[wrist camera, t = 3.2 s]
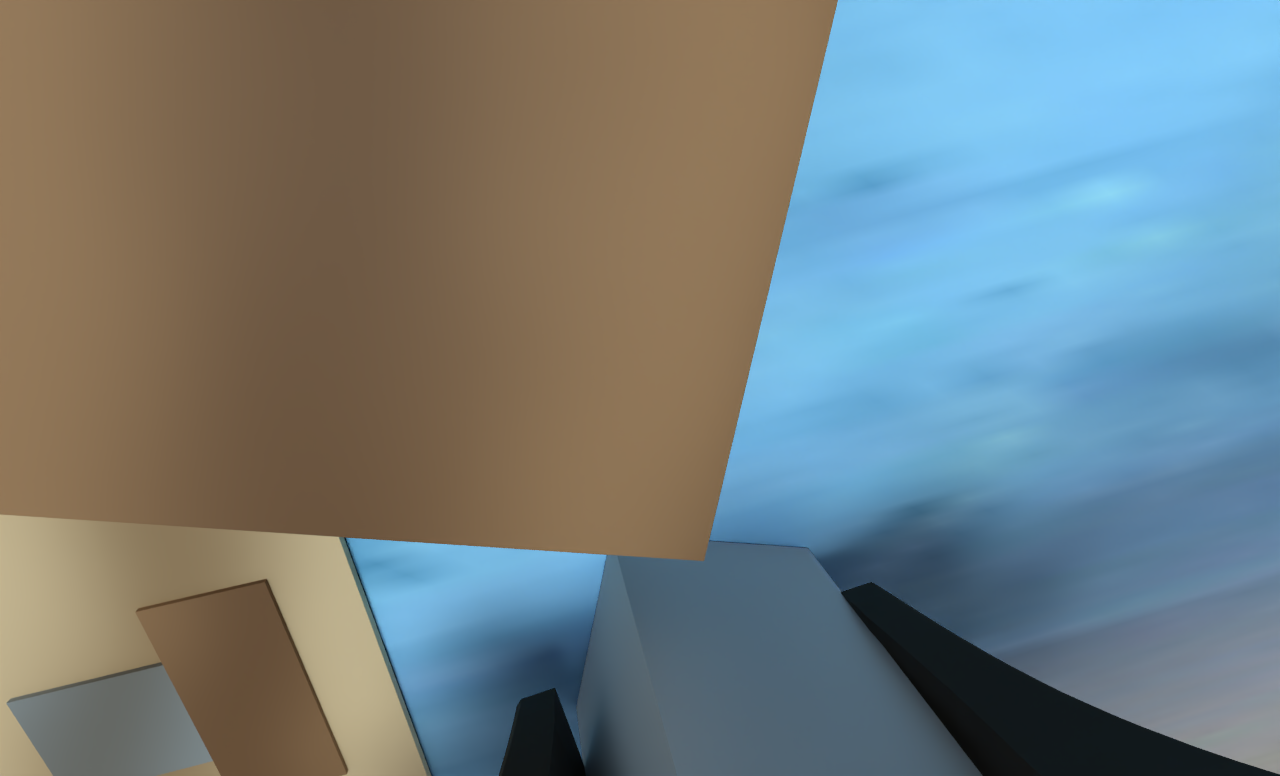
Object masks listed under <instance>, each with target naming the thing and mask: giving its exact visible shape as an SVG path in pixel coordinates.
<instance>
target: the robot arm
mask: <svg viewBox="0 0 1280 776" xmlns="http://www.w3.org/2000/svg"><path fill="white" fill-rule="evenodd" d="M841 594H842V595H843V596H844V598H845V599H846V600H847V602H848V603H849V604H850V606H851V607H852V608H853V610H854V611H855V612H856V613H857V615H858V616H859V617H860V619H861V620H862V621H863V623H864V624H865V625H866V627H867V628H868V629H869V630H870V632H871V633H872V634H873V635H874V636H875V637H876V638H877V639H878V641H879V642H880V643H881V644H882V645H883V646H884V648H885V649H886V650H887V652H888V653H889V654H890V656H891V657H892V658H893V659H894V661H895V662H896V663H897V665H898V666H899V667H900V669H901V670H902V671H903V673H904V674H905V675H906V676H907V678H908V679H909V680H910V682H911V683H912V684H913V686H914V687H915V688H916V690H917V691H918V692H919V693H920V695H921V696H922V697H923V699H924V700H925V701H926V703H927V704H928V705H929V706H930V708H931V709H932V710H933V712H934V713H935V714H936V716H937V717H938V718H939V720H940V721H941V722H942V723H943V725H944V726H945V727H946V729H947V730H948V731H949V733H950V734H951V735H952V736H953V738H954V739H955V740H956V742H957V743H958V744H959V746H960V747H961V748H962V750H963V751H964V752H965V753H966V755H967V756H968V757H969V759H970V760H971V761H972V763H973V764H974V765H975V766H976V768H977V769H978V770H979V772H980V773H981V774H982V776H1280V775H1279V774H1276V773H1273V772H1270V771H1266V770H1263V769H1260V768H1257V767H1254V766H1251V765H1247V764H1244V763H1241V762H1238V761H1235V760H1232V759H1229V758H1226V757H1223V756H1220V755H1217V754H1214V753H1211V752H1208V751H1205V750H1203V749H1200V748H1197V747H1194V746H1191V745H1189V744H1186V743H1183V742H1181V741H1178V740H1176V739H1173V738H1170V737H1168V736H1165V735H1162V734H1160V733H1157V732H1154V731H1152V730H1149V729H1146V728H1144V727H1141V726H1139V725H1136V724H1134V723H1131V722H1129V721H1126V720H1124V719H1121V718H1119V717H1117V716H1114V715H1112V714H1109V713H1107V712H1105V711H1103V710H1101V709H1098V708H1096V707H1094V706H1092V705H1089V704H1087V703H1085V702H1083V701H1080V700H1078V699H1076V698H1074V697H1071V696H1069V695H1067V694H1065V693H1063V692H1061V691H1058V690H1056V689H1054V688H1052V687H1050V686H1048V685H1046V684H1044V683H1042V682H1040V681H1038V680H1036V679H1035V678H1033V677H1031V676H1029V675H1027V674H1025V673H1023V672H1021V671H1019V670H1017V669H1015V668H1014V667H1012V666H1010V665H1008V664H1006V663H1004V662H1003V661H1001V660H999V659H997V658H995V657H993V656H992V655H990V654H988V653H986V652H985V651H983V650H981V649H979V648H978V647H976V646H974V645H973V644H971V643H969V642H967V641H966V640H964V639H962V638H961V637H959V636H957V635H955V634H954V633H952V632H950V631H949V630H947V629H946V628H944V627H942V626H941V625H939V624H937V623H936V622H934V621H933V620H931V619H929V618H928V617H926V616H925V615H923V614H921V613H920V612H918V611H917V610H915V609H913V608H912V607H910V606H909V605H907V604H906V603H904V602H903V601H901V600H899V599H898V598H896V597H895V596H893V595H892V594H890V593H889V592H887V591H885V590H884V589H882V588H881V587H879V586H878V585H876V584H874V583H872V582H870V583H867V584H864V585H861V586H858V587H855V588H852V589H849V590H846V591H843V592H841ZM499 776H586V775H585V767H584V764H583V761H582V759H581V756H580V753H579V751H578V748H577V745H576V743H575V740H574V737H573V735H572V732H571V729H570V727H569V724H568V721H567V719H566V716H565V713H564V711H563V708H562V705H561V703H560V700H559V697H558V695H557V692H556V690H555V688H553V689H550V690H547V691H544V692H541V693H538V694H535V695H532V696H529V697H526V698H523V699H521V700H520V702H519V704H518V705H517V708H516V713H515V717H514V722H513V726H512V730H511V734H510V738H509V741H508V745H507V749H506V752H505V756H504V759H503V763H502V766H501V770H500V773H499Z"/></svg>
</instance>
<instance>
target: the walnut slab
mask: <svg viewBox="0 0 1280 776" xmlns="http://www.w3.org/2000/svg"><path fill="white" fill-rule="evenodd" d="M837 2H838V0H0V515H14V516H30V517H45V518H60V519H75V520H90V521H105V522H120V523H135V524H151V525H166V526H181V527H196V528H211V529H226V530H241V531H256V532H272V533H287V534H302V535H317V536H332V537H347V538H362V539H377V540H393V541H408V542H423V543H438V544H453V545H468V546H483V547H499V548H514V549H529V550H544V551H559V552H574V553H589V554H604V555H620V556H635V557H650V558H665V559H680V560H695V561H704V559H705V555H706V551H707V547H708V542H709V538H710V534H711V530H712V526H713V521H714V517H715V513H716V509H717V505H718V500H719V496H720V492H721V488H722V484H723V479H724V475H725V471H726V467H727V463H728V459H729V454H730V450H731V446H732V442H733V438H734V433H735V429H736V425H737V421H738V417H739V412H740V408H741V404H742V400H743V396H744V391H745V387H746V383H747V379H748V375H749V371H750V366H751V362H752V358H753V354H754V350H755V345H756V341H757V337H758V333H759V329H760V324H761V320H762V316H763V312H764V308H765V303H766V299H767V295H768V291H769V287H770V282H771V278H772V274H773V270H774V266H775V262H776V257H777V253H778V249H779V245H780V241H781V236H782V232H783V228H784V224H785V220H786V215H787V211H788V207H789V203H790V199H791V194H792V190H793V186H794V182H795V178H796V174H797V169H798V165H799V161H800V157H801V153H802V148H803V144H804V140H805V136H806V132H807V127H808V123H809V119H810V115H811V111H812V106H813V102H814V98H815V94H816V90H817V86H818V81H819V77H820V73H821V69H822V65H823V60H824V56H825V52H826V48H827V44H828V39H829V35H830V31H831V27H832V23H833V18H834V14H835V10H836V6H837Z"/></svg>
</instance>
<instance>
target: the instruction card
mask: <svg viewBox="0 0 1280 776" xmlns="http://www.w3.org/2000/svg"><path fill="white" fill-rule="evenodd" d="M0 776H431V773H430V771H429V768H428V765H427V762H426V760H425V757H424V754H423V752H422V749H421V746H420V743H419V741H418V738H417V735H416V733H415V730H414V727H413V724H412V722H411V719H410V716H409V713H408V711H407V708H406V705H405V703H404V700H403V697H402V694H401V692H400V689H399V686H398V683H397V681H396V678H395V675H394V673H393V670H392V667H391V664H390V662H389V659H388V656H387V653H386V651H385V648H384V645H383V643H382V640H381V637H380V634H379V632H378V629H377V626H376V623H375V621H374V618H373V615H372V613H371V610H370V607H369V604H368V602H367V599H366V596H365V593H364V591H363V588H362V585H361V583H360V580H359V577H358V574H357V572H356V569H355V566H354V563H353V561H352V558H351V555H350V553H349V550H348V547H347V544H346V542H345V539H344V537H332V536H317V535H302V534H287V533H272V532H256V531H241V530H226V529H211V528H196V527H181V526H166V525H151V524H135V523H120V522H105V521H90V520H75V519H60V518H45V517H30V516H14V515H0Z"/></svg>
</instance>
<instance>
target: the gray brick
mask: <svg viewBox="0 0 1280 776" xmlns="http://www.w3.org/2000/svg"><path fill="white" fill-rule="evenodd" d="M576 710H577V719H578V727H579V735H580V743H581V751H582V759H583V764H584V767H585V775H586V776H982V774H981V773H980V772H979V770H978V769H977V768H976V766H975V765H974V764H973V763H972V761H971V760H970V759H969V757H968V756H967V755H966V753H965V752H964V751H963V750H962V748H961V747H960V746H959V744H958V743H957V742H956V740H955V739H954V738H953V736H952V735H951V734H950V733H949V731H948V730H947V729H946V727H945V726H944V725H943V723H942V722H941V721H940V720H939V718H938V717H937V716H936V714H935V713H934V712H933V710H932V709H931V708H930V706H929V705H928V704H927V703H926V701H925V700H924V699H923V697H922V696H921V695H920V693H919V692H918V691H917V690H916V688H915V687H914V686H913V684H912V683H911V682H910V680H909V679H908V678H907V676H906V675H905V674H904V673H903V671H902V670H901V669H900V667H899V666H898V665H897V663H896V662H895V661H894V659H893V658H892V657H891V656H890V654H889V653H888V652H887V650H886V649H885V648H884V646H883V645H882V644H881V643H880V642H879V641H878V639H877V638H876V637H875V636H874V635H873V634H872V633H871V632H870V630H869V629H868V628H867V627H866V625H865V624H864V623H863V621H862V620H861V619H860V617H859V616H858V615H857V613H856V612H855V611H854V610H853V608H852V607H851V606H850V604H849V603H848V602H847V600H846V599H845V598H844V596H843V595H842V594H841V590H840V589H839V588H838V586H837V585H836V584H835V583H834V581H833V580H832V579H831V577H830V576H829V575H828V573H827V572H826V571H825V569H824V568H823V567H822V566H821V564H820V563H819V562H818V560H817V559H816V558H815V556H814V555H813V554H812V553H811V551H810V550H809V549H808V548H801V547H787V546H773V545H759V544H745V543H731V542H717V541H709V542H708V547H707V551H706V555H705V559H704V561H695V560H680V559H665V558H650V557H635V556H620V555H607V557H606V562H605V567H604V572H603V577H602V582H601V587H600V592H599V597H598V602H597V607H596V612H595V617H594V621H593V626H592V631H591V636H590V641H589V646H588V651H587V656H586V661H585V666H584V671H583V676H582V681H581V686H580V691H579V696H578V701H577V706H576Z"/></svg>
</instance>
